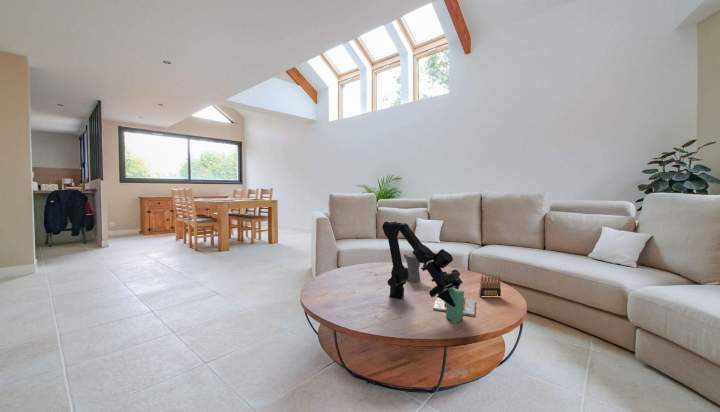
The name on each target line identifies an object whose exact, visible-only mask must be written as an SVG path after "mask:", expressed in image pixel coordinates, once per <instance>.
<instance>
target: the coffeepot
mask: <svg viewBox="0 0 720 412" xmlns="http://www.w3.org/2000/svg"><path fill="white" fill-rule="evenodd" d="M402 256H403V258H405V260H406V265H407V269H408V274H409V276H408V280H407V281H406V282H409V281H410V283H418V281H419V282H420V281H421V275H420V270H423V267H420V266H421V263H420V262H419V261H418V260H417V258H416V256H415V254H414V250H412V253H410V254H408V253H407V254H406V253H405V254H403V255H402ZM425 264H428V262H426V263H423V265H425Z"/></svg>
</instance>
